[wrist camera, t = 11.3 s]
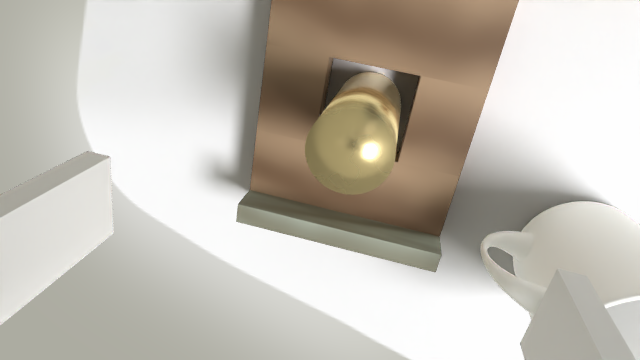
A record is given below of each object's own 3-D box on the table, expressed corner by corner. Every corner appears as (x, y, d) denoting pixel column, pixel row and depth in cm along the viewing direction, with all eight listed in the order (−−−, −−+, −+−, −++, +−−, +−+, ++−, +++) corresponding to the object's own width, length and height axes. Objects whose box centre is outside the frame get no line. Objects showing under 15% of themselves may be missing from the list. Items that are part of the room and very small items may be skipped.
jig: (287, -61, 27) (266, -70, 23) (517, -19, 26) (537, -21, 22) (256, 195, 35) (236, 221, 31) (432, 238, 33) (435, 272, 29)
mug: (499, 161, 30) (541, 241, 20) (670, 223, 29) (797, 337, 20) (446, 258, 34) (460, 366, 24) (597, 316, 33) (674, 449, 23)
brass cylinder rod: (343, 65, 29) (312, 99, 20) (408, 79, 29) (405, 119, 20) (332, 127, 31) (298, 183, 22) (392, 141, 31) (383, 203, 22)
